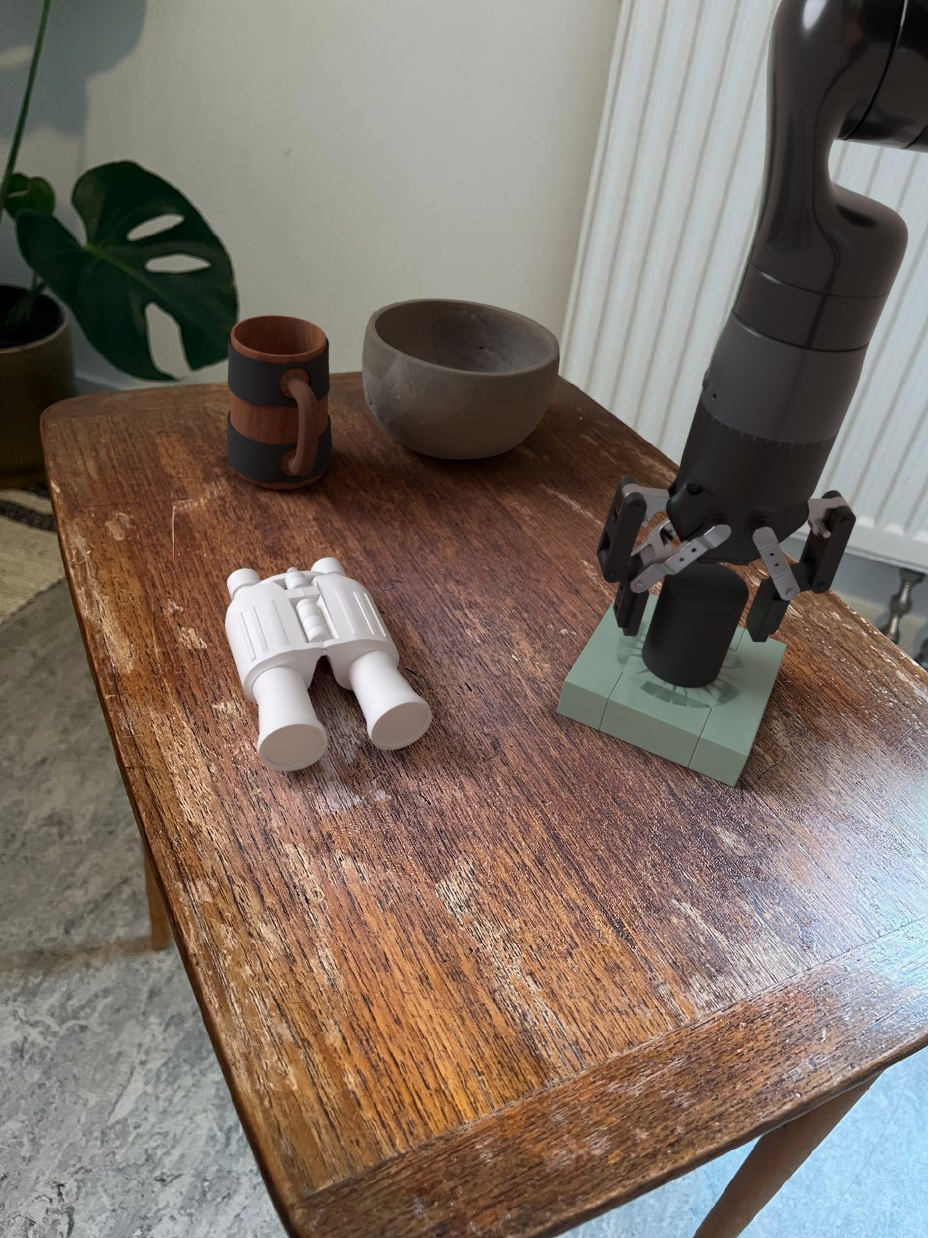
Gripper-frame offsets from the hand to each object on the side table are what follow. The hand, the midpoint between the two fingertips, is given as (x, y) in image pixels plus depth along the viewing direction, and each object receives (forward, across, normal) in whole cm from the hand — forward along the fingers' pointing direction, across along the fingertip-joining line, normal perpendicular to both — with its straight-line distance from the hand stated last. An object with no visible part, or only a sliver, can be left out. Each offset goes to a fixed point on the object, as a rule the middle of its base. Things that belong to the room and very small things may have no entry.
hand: (691, 631), depth 62 cm
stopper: (+5, 0, 0) cm, 5 cm away
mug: (+6, -27, +24) cm, 37 cm away
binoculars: (+6, -24, +1) cm, 25 cm away
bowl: (+6, -13, +34) cm, 36 cm away
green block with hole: (+6, 0, 0) cm, 6 cm away
